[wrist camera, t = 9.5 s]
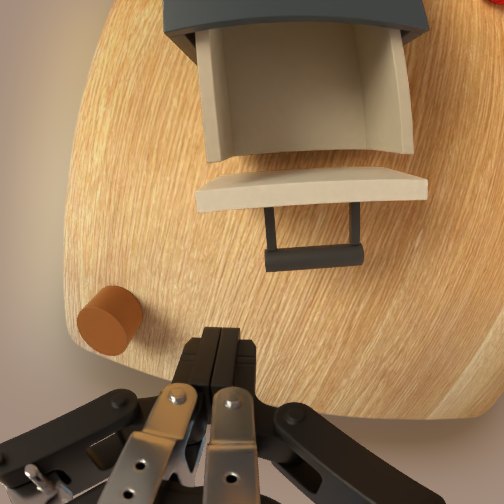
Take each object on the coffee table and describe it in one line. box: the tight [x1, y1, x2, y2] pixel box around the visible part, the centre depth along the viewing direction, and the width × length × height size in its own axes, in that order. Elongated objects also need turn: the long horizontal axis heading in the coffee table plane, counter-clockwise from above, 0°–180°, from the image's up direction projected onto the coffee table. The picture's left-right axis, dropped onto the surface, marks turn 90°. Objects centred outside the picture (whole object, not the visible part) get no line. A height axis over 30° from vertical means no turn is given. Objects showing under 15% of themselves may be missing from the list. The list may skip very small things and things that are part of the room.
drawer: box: [195, 22, 428, 272], centre depth 18 cm, size 20×13×8 cm
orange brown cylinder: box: [77, 286, 143, 356], centre depth 27 cm, size 6×6×4 cm
